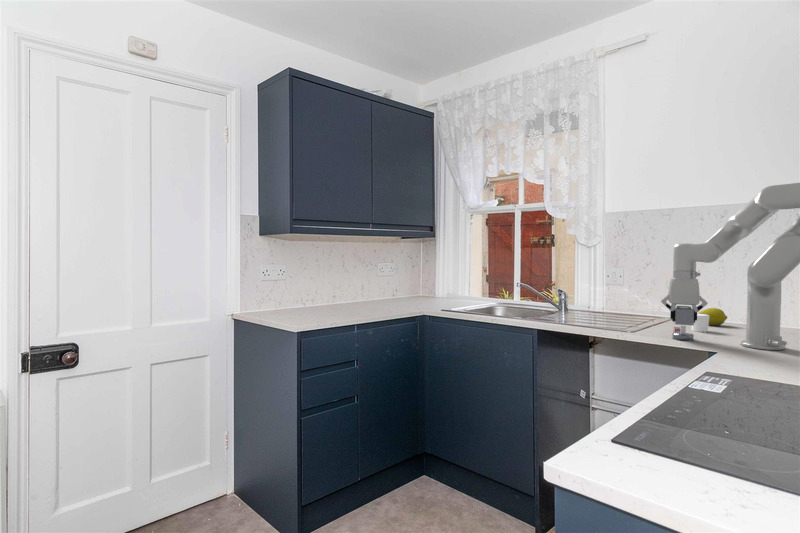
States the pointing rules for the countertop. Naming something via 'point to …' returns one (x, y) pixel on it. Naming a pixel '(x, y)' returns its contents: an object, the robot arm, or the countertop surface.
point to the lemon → (715, 316)
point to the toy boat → (681, 334)
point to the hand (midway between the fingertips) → (683, 321)
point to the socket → (684, 315)
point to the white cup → (701, 323)
